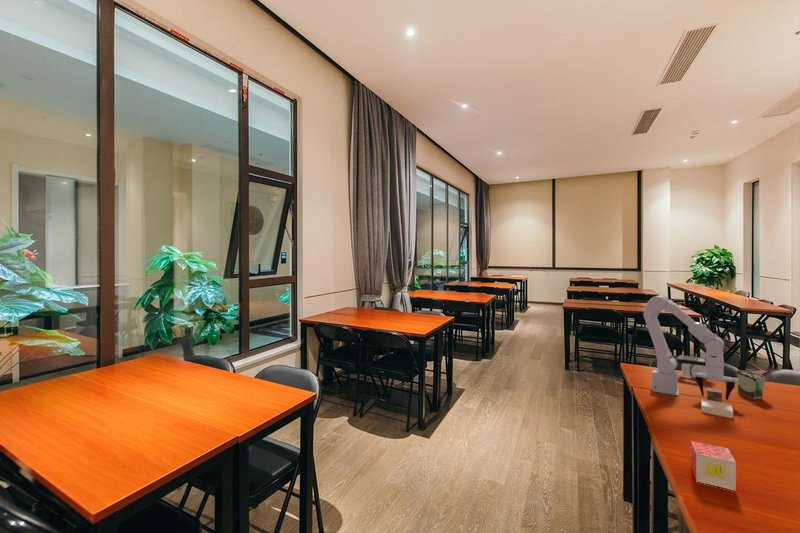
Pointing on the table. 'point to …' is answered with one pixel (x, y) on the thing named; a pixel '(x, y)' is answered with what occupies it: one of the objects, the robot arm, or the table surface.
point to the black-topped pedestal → (692, 364)
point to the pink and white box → (713, 465)
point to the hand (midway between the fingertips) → (714, 397)
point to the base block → (716, 408)
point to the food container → (750, 384)
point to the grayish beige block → (714, 394)
